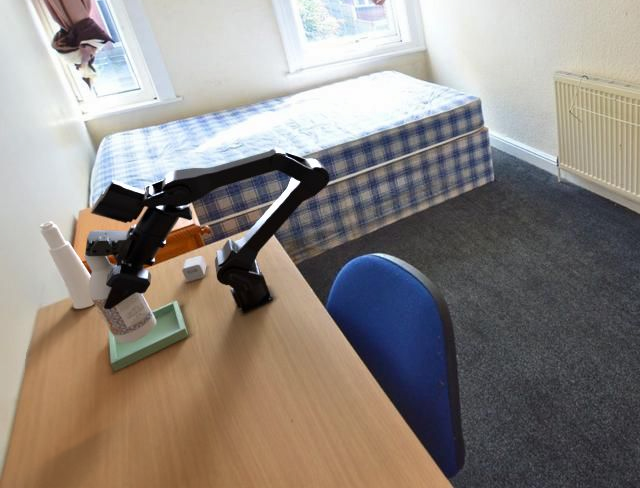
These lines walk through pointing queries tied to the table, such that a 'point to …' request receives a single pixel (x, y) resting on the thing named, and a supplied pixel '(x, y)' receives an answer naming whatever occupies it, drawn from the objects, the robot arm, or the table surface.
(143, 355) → the toiletries tray
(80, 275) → the cosmetic bottle
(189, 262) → the usb wall charger
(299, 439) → the table surface
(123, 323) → the bath foam
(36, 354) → the table surface
